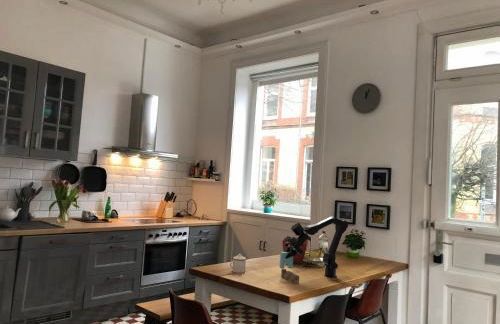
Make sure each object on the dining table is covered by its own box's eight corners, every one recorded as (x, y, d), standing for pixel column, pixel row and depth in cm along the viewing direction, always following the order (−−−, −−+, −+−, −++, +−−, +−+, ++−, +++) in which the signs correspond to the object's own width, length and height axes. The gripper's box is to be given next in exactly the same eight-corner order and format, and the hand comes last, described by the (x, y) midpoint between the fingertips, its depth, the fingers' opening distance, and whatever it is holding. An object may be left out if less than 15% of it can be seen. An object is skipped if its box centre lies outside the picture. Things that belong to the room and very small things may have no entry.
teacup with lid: (240, 269, 277) (241, 252, 277) (248, 272, 270) (249, 254, 270) (225, 271, 270) (226, 253, 270) (233, 273, 262) (234, 256, 263)
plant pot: (305, 264, 306) (306, 242, 307) (280, 262, 310) (282, 240, 311) (307, 260, 325) (308, 239, 325) (283, 258, 329) (285, 237, 329)
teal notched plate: (290, 267, 263) (291, 252, 263) (292, 268, 260) (293, 252, 261) (279, 267, 260) (280, 252, 260) (281, 268, 258) (282, 252, 258)
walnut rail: (281, 276, 263) (281, 268, 263) (284, 276, 264) (284, 268, 264) (295, 284, 245) (295, 276, 245) (298, 284, 245) (299, 276, 246)
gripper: (287, 230, 271) (271, 246, 267) (300, 234, 254) (283, 251, 250) (296, 241, 274) (281, 258, 269) (310, 246, 256) (294, 264, 252)
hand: (284, 257), depth 260 cm, fingers closed on teal notched plate, 2 cm apart
